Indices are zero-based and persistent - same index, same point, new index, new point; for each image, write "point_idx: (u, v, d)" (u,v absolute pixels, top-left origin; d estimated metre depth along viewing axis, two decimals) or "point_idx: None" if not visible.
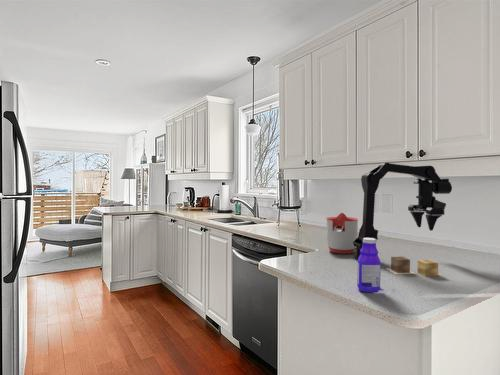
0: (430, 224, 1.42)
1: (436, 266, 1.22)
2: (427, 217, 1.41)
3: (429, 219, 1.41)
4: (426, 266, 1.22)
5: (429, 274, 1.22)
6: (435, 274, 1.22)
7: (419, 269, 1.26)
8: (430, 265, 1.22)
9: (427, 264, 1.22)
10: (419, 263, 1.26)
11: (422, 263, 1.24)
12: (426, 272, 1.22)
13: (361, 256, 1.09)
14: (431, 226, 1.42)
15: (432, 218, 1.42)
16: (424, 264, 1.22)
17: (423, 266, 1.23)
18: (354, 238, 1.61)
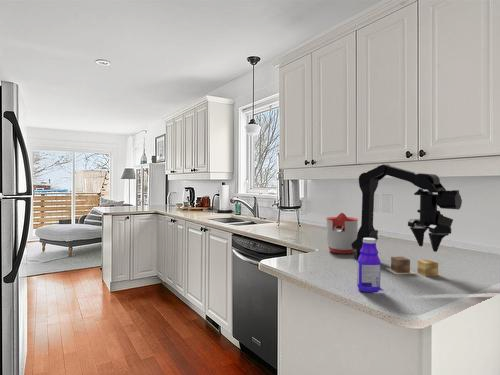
0: (434, 244, 1.19)
1: (436, 266, 1.22)
2: (430, 236, 1.18)
3: (433, 238, 1.18)
4: (426, 266, 1.22)
5: (429, 274, 1.22)
6: (435, 274, 1.22)
7: (419, 269, 1.26)
8: (430, 265, 1.22)
9: (427, 264, 1.22)
10: (419, 263, 1.26)
11: (422, 263, 1.24)
12: (426, 272, 1.22)
13: (361, 256, 1.09)
14: (435, 247, 1.19)
15: (436, 237, 1.19)
16: (424, 264, 1.22)
17: (423, 266, 1.23)
18: (354, 238, 1.61)
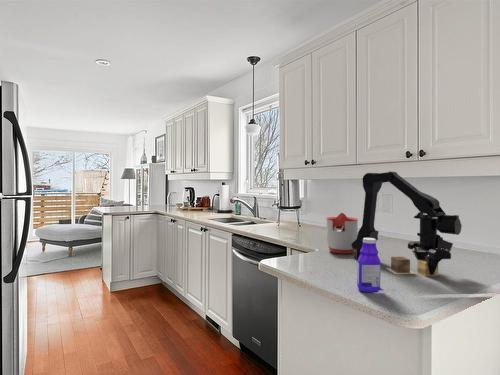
0: (431, 267, 1.21)
1: None
2: (427, 259, 1.20)
3: (429, 262, 1.20)
4: (426, 266, 1.22)
5: (429, 274, 1.22)
6: (435, 274, 1.22)
7: (419, 269, 1.26)
8: None
9: None
10: (419, 263, 1.26)
11: (422, 263, 1.24)
12: (426, 272, 1.22)
13: (361, 256, 1.09)
14: (432, 270, 1.21)
15: (433, 260, 1.21)
16: (424, 264, 1.22)
17: (423, 266, 1.23)
18: (354, 238, 1.61)
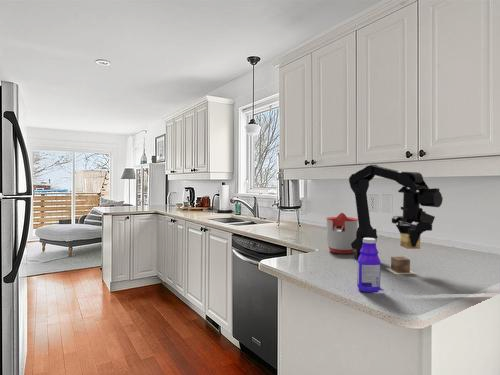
0: (413, 240, 1.24)
1: (418, 239, 1.25)
2: (409, 232, 1.23)
3: (411, 234, 1.23)
4: (408, 238, 1.25)
5: (411, 246, 1.25)
6: (417, 246, 1.25)
7: (402, 242, 1.29)
8: None
9: None
10: (402, 236, 1.28)
11: (405, 236, 1.26)
12: (408, 244, 1.25)
13: (361, 256, 1.09)
14: (414, 242, 1.24)
15: (415, 233, 1.23)
16: (406, 237, 1.25)
17: (405, 239, 1.26)
18: (354, 238, 1.61)
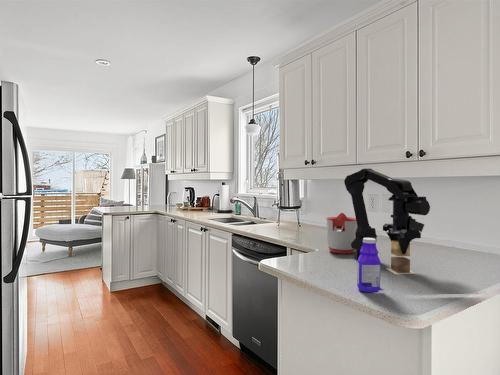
0: (402, 247, 1.25)
1: (408, 246, 1.27)
2: (399, 239, 1.25)
3: (401, 242, 1.25)
4: (398, 246, 1.26)
5: (401, 254, 1.27)
6: (407, 254, 1.27)
7: (392, 249, 1.30)
8: None
9: None
10: (392, 244, 1.30)
11: (395, 243, 1.28)
12: (398, 252, 1.27)
13: (361, 256, 1.09)
14: (404, 249, 1.26)
15: (405, 240, 1.25)
16: (396, 244, 1.27)
17: (395, 246, 1.28)
18: (354, 238, 1.61)
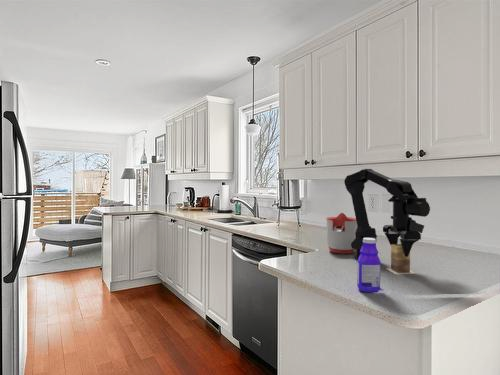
0: (405, 250, 1.23)
1: None
2: (401, 242, 1.23)
3: (404, 244, 1.23)
4: (398, 250, 1.26)
5: (401, 257, 1.27)
6: (407, 257, 1.27)
7: (392, 253, 1.30)
8: (402, 249, 1.27)
9: (399, 248, 1.27)
10: (392, 247, 1.30)
11: (395, 247, 1.28)
12: (398, 255, 1.27)
13: (361, 256, 1.09)
14: (406, 252, 1.24)
15: (407, 243, 1.23)
16: (396, 248, 1.27)
17: (395, 250, 1.28)
18: (354, 238, 1.61)
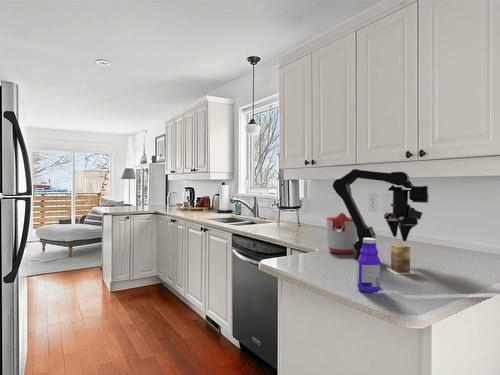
0: (403, 234, 1.33)
1: (408, 250, 1.27)
2: (400, 227, 1.32)
3: (402, 229, 1.32)
4: (398, 250, 1.26)
5: (401, 257, 1.27)
6: (407, 257, 1.27)
7: (392, 253, 1.30)
8: (402, 249, 1.27)
9: (399, 248, 1.27)
10: (392, 247, 1.30)
11: (395, 247, 1.28)
12: (398, 255, 1.27)
13: (361, 256, 1.09)
14: (404, 236, 1.33)
15: (405, 228, 1.33)
16: (396, 248, 1.27)
17: (395, 250, 1.28)
18: (354, 238, 1.61)
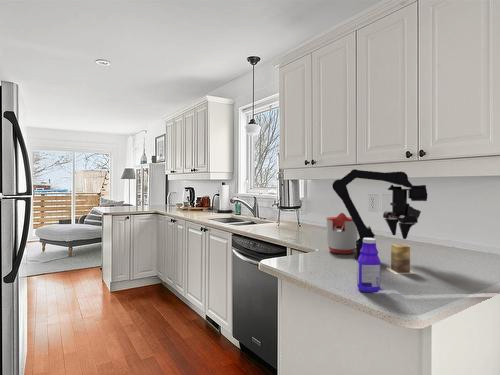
0: (403, 232, 1.37)
1: (408, 250, 1.27)
2: (400, 225, 1.36)
3: (402, 227, 1.36)
4: (398, 250, 1.26)
5: (401, 257, 1.27)
6: (407, 257, 1.27)
7: (392, 253, 1.30)
8: (402, 249, 1.27)
9: (399, 248, 1.27)
10: (392, 247, 1.30)
11: (395, 247, 1.28)
12: (398, 255, 1.27)
13: (361, 256, 1.09)
14: (404, 234, 1.37)
15: (405, 226, 1.36)
16: (396, 248, 1.27)
17: (395, 250, 1.28)
18: (354, 238, 1.61)
